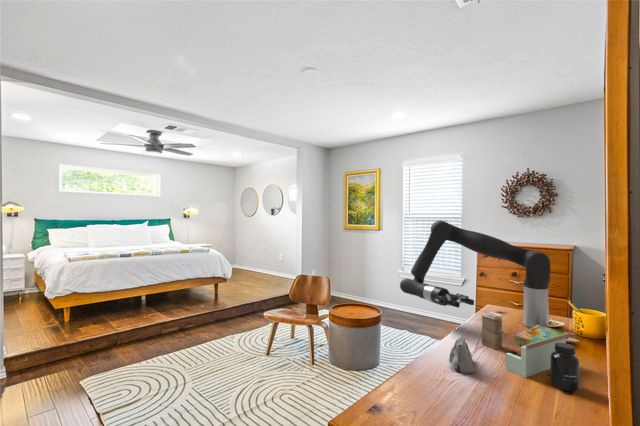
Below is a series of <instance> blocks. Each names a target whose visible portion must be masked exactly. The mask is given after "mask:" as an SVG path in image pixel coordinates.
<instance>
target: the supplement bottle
mask: <svg viewBox="0 0 640 426" xmlns="http://www.w3.org/2000/svg"><path fill="white" fill-rule="evenodd" d="M576 353H577V352H576V346H574V345H572V344H570V343H568V342H566V343H559V342H558V343H555V351H554V352H552V354H551V364H550V369H549V370H550V371H549V372H550V373H549V376H550V377H549V382H550V384H551V385H552V386H553V387H554V388H556V389H559V390H560V391H564V392H569V393H571V392H572V393H573V392H578V390H579V387H580V360H579V359H580V358H578V356H577V355H576Z"/></svg>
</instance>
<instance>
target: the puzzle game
mask: <svg viewBox="0 0 640 426" xmlns="http://www.w3.org/2000/svg"><path fill="white" fill-rule="evenodd" d="M564 333H568V337H567V338H566V340H568V339H570V338H571V332H567V331H563V330H558V329H554V328H551V327H548V328H547V327H543V326H539V325H536V326H534V327H528V328H527V329H524V330H522V331H519V332H517V333H515V334H513V335H514V336H513V339H514V340H515V342H516V343H517V344H518V345H520V346H525V345H526V344H529V343H533V342H536V341H539V340H543V339H546V338H550V337H553V336H557V335H560V334H564Z"/></svg>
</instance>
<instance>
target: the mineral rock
mask: <svg viewBox="0 0 640 426" xmlns="http://www.w3.org/2000/svg"><path fill="white" fill-rule="evenodd" d="M448 361H449V363H450V364H451V366H452V369H453V370H454V372H459V373H460V372H461V373H462V374H472V373H474V372H475V367H474V362H473V358H472V353H471V351H470V349H469V345H468V343H467V342H466V340H465V337H464V336H463V335H462V336H461V337H459V338H457V339H456V340H455V342H454V345H453V346H452V348H451V350H450V353H449V358H448Z"/></svg>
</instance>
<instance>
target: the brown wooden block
mask: <svg viewBox="0 0 640 426" xmlns="http://www.w3.org/2000/svg"><path fill="white" fill-rule="evenodd" d="M481 328H482V329H481V345H482V346H484V347H486V348H490V349H491V350H498V349H501V348H502V347H503V315H502V314H500V313H497V312H496V313H495V312H493V311H487V312H482V313H481Z"/></svg>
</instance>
